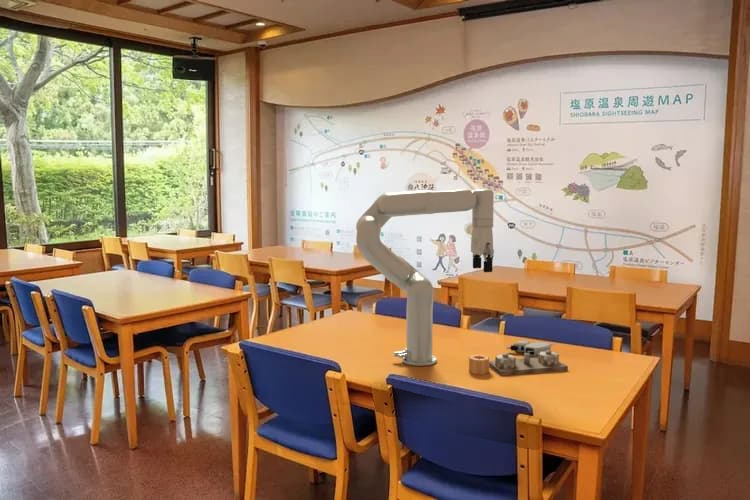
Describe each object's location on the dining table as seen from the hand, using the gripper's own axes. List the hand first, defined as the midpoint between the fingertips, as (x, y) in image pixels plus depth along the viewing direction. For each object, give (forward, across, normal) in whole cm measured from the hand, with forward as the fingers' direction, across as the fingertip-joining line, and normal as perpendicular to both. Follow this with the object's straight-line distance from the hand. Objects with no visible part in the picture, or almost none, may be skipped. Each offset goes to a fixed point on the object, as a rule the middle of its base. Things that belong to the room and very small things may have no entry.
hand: (482, 270), depth 225 cm
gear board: (+34, +14, +11) cm, 38 cm away
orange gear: (+34, +13, -7) cm, 37 cm away
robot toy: (+34, -2, +21) cm, 40 cm away
